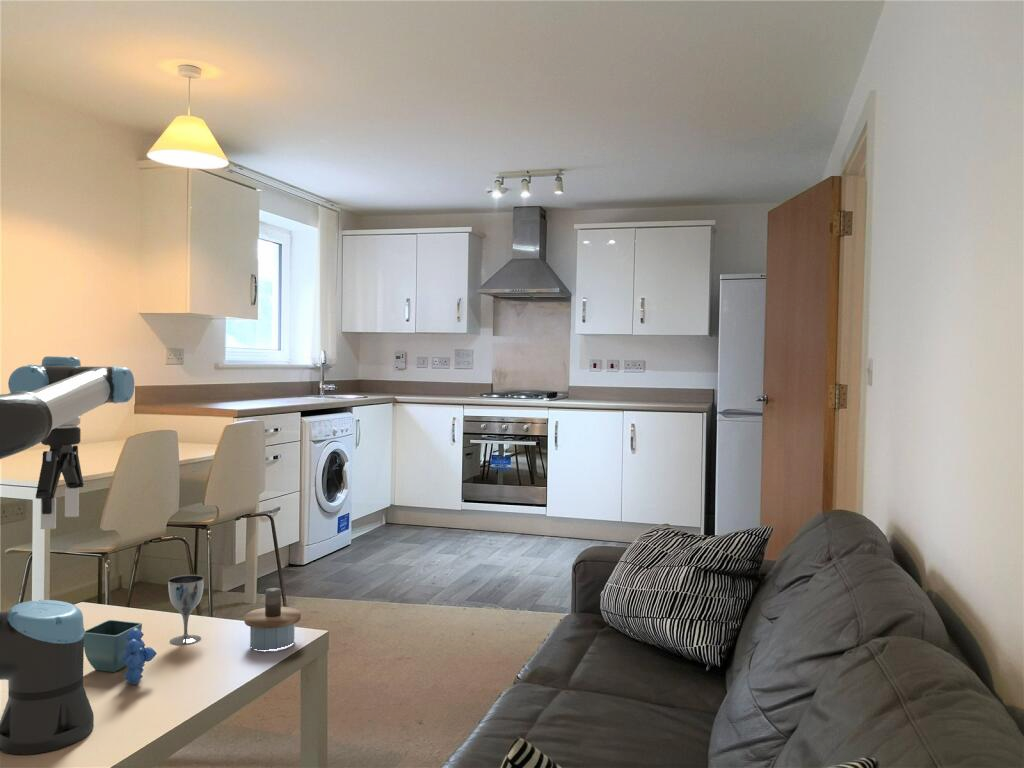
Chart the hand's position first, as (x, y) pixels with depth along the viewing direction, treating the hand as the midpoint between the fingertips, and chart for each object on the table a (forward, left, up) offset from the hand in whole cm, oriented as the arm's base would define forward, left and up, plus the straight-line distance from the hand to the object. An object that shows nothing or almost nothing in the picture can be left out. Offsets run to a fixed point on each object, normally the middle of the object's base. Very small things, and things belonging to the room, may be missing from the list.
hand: (60, 522), depth 174 cm
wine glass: (+13, -24, -32) cm, 42 cm away
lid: (+7, -45, -26) cm, 52 cm away
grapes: (-13, -20, -32) cm, 40 cm away
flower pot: (-3, -12, -32) cm, 34 cm away
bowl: (+7, -45, -32) cm, 55 cm away
